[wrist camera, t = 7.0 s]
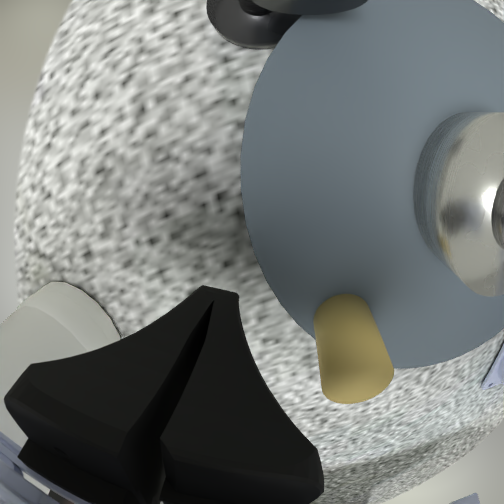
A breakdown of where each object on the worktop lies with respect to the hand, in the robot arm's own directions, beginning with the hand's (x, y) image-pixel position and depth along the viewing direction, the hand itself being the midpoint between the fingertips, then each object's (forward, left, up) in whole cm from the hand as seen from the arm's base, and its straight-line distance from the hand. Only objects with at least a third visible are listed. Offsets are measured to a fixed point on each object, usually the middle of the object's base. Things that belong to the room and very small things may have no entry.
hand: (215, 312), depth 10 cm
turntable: (-10, -4, -3) cm, 11 cm away
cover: (-10, -4, -1) cm, 11 cm away
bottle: (+12, +5, -4) cm, 14 cm away
